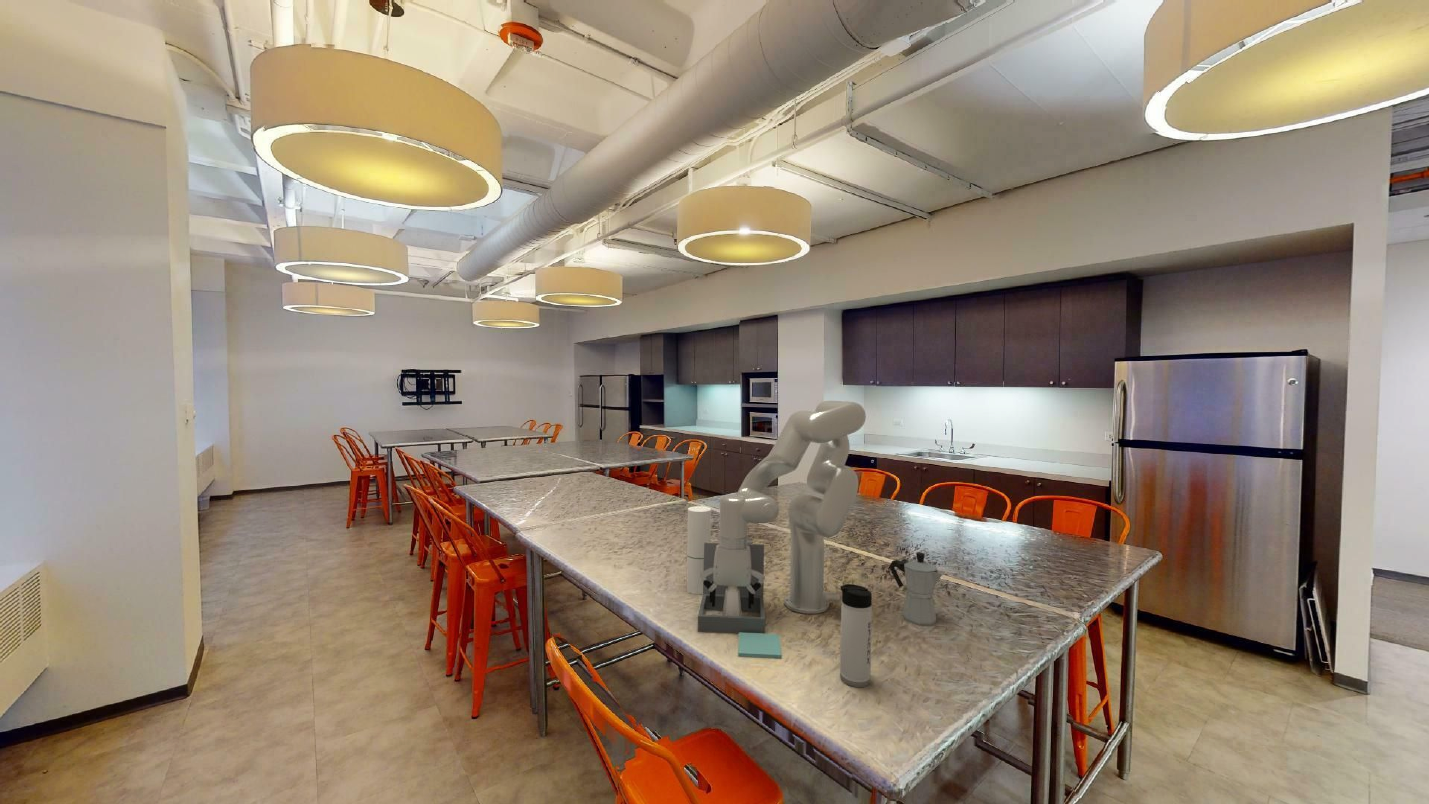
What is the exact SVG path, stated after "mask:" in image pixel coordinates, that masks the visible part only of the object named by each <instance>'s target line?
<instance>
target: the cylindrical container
mask: <svg viewBox="0 0 1429 804" xmlns="http://www.w3.org/2000/svg"><path fill="white" fill-rule="evenodd" d="M711 529H712V508H711V507H709V506H705V505H704V506H701V505H699V506H698V505H695V506H689V507H688V508H687V534H686V535H687V536H686V537H687V542H686V543H687V545H686V546H687V547H686V548H687V549H686V550H687V551H686V558H687V559H686V591H687V592H688V593H689V594H693V595H703V581H702V580H701V577H700V573H701V572H703V571H704V543H712V542H711V541H712V539H711V536H712V530H711Z"/></svg>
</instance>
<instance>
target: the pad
mask: <svg viewBox="0 0 1429 804" xmlns="http://www.w3.org/2000/svg"><path fill="white" fill-rule="evenodd" d="M781 646H782V645H781V639H780V634H779V633H765V634H763V633H742V632H739V634H738V648H737V649H738V651H737V652H738V653H737V657H742V658H743V657H744V658H760V659H761V658H763V659H780V660H781V659H782V658H783V654H782V648H781Z"/></svg>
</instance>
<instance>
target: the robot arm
mask: <svg viewBox="0 0 1429 804" xmlns="http://www.w3.org/2000/svg"><path fill="white" fill-rule="evenodd" d="M866 419H867V415H866V411H865V409H864V407H863V406H862V405H861V404H860V403H858V402H855V401H848V400H847V401H846V400H845V401H844V400H825V401H822V402H820V403H819V404H818V405H816V407H815V410H814V411H811V410H810V411H809V410H798V411H795V412H793V413H792V414H791V415H790V416H789V418H788V419H787V421H786V423H785V424H784V426H783V428H782V430H781V432H780V433H779V436H778V437H777V439H776V441H775V443H774V444H773V446H772V449H771V450H770V452H769V453H768V455H766V457H764V458H763V459H761V461H759V462H758V463H757V464H756V465H755V466H754V467H753V468H752V469H751V470H750V471H749V472H748V474H747V475H746V476H745V478H744V479H743V481H742V483H741V485H740V486H739V488H738V491H737V493H736V494H726V495H722V497H720V500H719V524H718V525H719V527H718V543H719V544H718V545H717V546H716V550H715V556H714V567H711V568H709V569H707V570H705V571H703V572H701V573H700V577H701V580H702V581H703V584H704V585H705V586H706V587H707V588H708V590H709V592H710V602H712V607H715V593H716V589H715V588H716V587H717V586H718V585H720V586H739V587H747V589H748V590H749V594H748V608H749V609H751V604H753V605H754V593H755V592H756V591H757V590H758V589H759V588H760V587H761V585H762V583H763V581H764V582H765V579H766V577H765V575H763V574H761V573H759V572H757V571H756V570H754V569H752V568H751V552H750V547H749V546H747V545H748V544H754V543H753V540H754V539H753V538H752V537H749V536H748V527H749V526H748V524H749V523H750V524H751V523H752V524H768V523H771V522H773V521H774V520H775V519H776V518H777V517H778V515H779V511H780V510H779V509H780V508H779V504H778V502H777V501H776V499H774V498H773V497H771V496H770V495H767V494H765V493H764V492H765V490H766V489H767V487H768V486H769V485H770V484H771V483H772V482H773V481H775V480H776V479H778V478H779V477H781V476H784V475H788V474H789V473H792V472H794V471H796V469H798V467H799V464H801V461H802V459H803V458H804V455H805V453H806V452H807V450H808V448H809V446H810V445H811V443H815V444H819V447H818V449H817V452H816V455H815V457H814V459H813V462H812V464H811V467H810V468H809V470H808V474H807V476H806V484H807V486H808V488H809V489H810V490H811V491H813V492H815V493H817V494H819V495H823V497H822V498H821V497H817V496H814V495H811V494H798V495H796V496H795V497H794V498H792V499H791V501H790V503H789V505H788V510H787V517H788V523H789V531H790V557H789V558H790V563H789V564H790V565H789V567H790V568H789V569H790V570H789V573H790V574H789V594H787V595H785V597H784V598H783V600H784V601H783V603H784V605H785V606H786V608H788V609H789V610H792V611H793V612H796V613H800V614H807V615H809V614H810V615H815V614H821V613H824V612H826V611H827V610H828V609H829V605H830V604H829V603H830V602H837V603H839V602H841V594H838V593H837V594H835V592H834V591H827V590H825V588H824V586H825V585H824V578H825V577H824V576H825V575H824V574H825V541H824V540H825V539H824V538H832V537H835V536H836V535H838V534H839V533H840V532H841V530H842V529H843V528H844V527H843V526H844V525H845V523H846V520H847V518H848V515H849V513H850V511H851V508H852V505H853V503H854V501H855V499H856V497H857V494H858V492H859V491H858V490H859V478H858V475H857V473H856V471H855V470H854V469H853V468H852V467H850V466H848V465H846V462H847V460H848V457H849V453H850V448H851V447H850V446H851V445H850V439H849V437H848V435H851V434H853V433H856V432H858V431H859V430H860V429H862V427H863V426H864V424H865V422H866ZM712 573H713V582H712V583H711V582H710V581H709V580H708V579H707V577H706V576H708V575H710V574H712ZM751 575H753V576H754V577H756V578H758V581H757V582H756V583H755V584H754V585H753V584H752V583H751Z"/></svg>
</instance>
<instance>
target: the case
mask: <svg viewBox="0 0 1429 804" xmlns="http://www.w3.org/2000/svg"><path fill="white" fill-rule="evenodd" d="M724 598H725V595H715V607H712V602H710V594H702V597H701V601H700V604H699V610H698V616H697V632H698V633H699V632H700V633H717V634H738V635H739V632H742V633H763V634H766V614H765V611H766V610H765V600H764V595H763V596H754V605H753V604H751V609H749V608H748V596H740V601H741V612H747V613H748V612H750V613H759V616H745V615H744V616H743V615H742V616H723V614H721V615H718V614H706V611H723V606H724Z"/></svg>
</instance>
